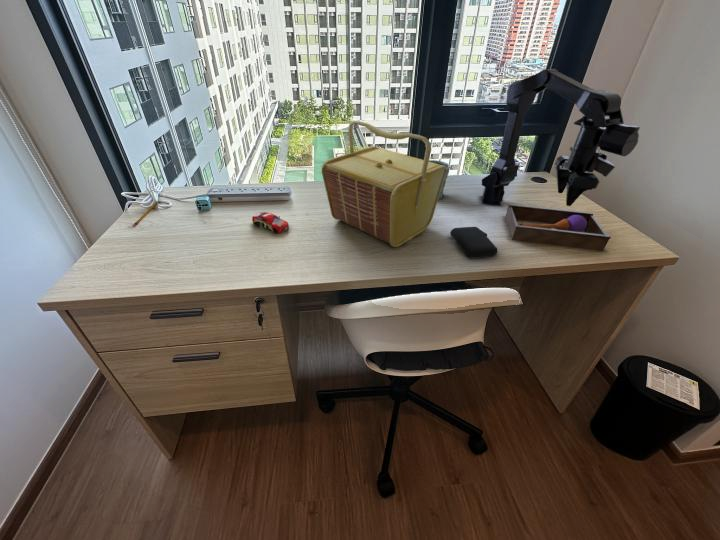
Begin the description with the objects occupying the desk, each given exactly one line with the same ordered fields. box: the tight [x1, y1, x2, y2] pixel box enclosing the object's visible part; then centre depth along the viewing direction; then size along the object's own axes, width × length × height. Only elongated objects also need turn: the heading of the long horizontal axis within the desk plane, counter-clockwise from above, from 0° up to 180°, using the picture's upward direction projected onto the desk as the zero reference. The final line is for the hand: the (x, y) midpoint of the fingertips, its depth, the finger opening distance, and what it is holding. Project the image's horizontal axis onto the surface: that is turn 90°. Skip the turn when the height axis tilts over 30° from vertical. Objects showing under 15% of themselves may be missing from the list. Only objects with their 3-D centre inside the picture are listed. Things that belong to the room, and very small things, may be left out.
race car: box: [251, 211, 290, 235], centre depth 104 cm, size 13×5×4 cm, turn 57°
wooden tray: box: [504, 203, 612, 252], centre depth 104 cm, size 26×16×5 cm, turn 78°
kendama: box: [519, 215, 587, 233], centre depth 104 cm, size 6×6×20 cm
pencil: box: [132, 200, 159, 228], centre depth 112 cm, size 19×1×1 cm, turn 4°
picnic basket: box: [320, 120, 447, 248], centre depth 99 cm, size 29×26×30 cm
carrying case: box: [450, 226, 498, 259], centre depth 97 cm, size 11×3×15 cm
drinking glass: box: [429, 159, 451, 200], centre depth 124 cm, size 10×10×12 cm
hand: (564, 199), depth 99 cm, fingers open, 9 cm apart
